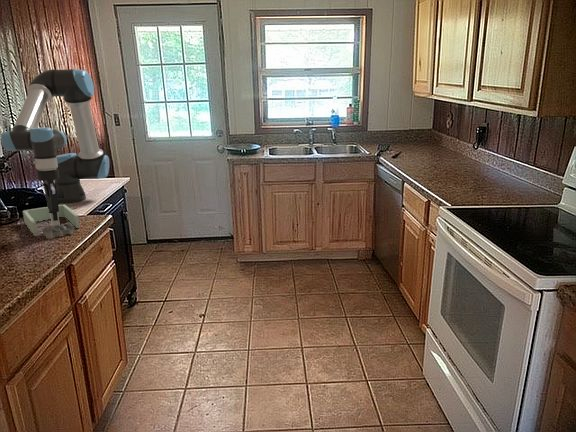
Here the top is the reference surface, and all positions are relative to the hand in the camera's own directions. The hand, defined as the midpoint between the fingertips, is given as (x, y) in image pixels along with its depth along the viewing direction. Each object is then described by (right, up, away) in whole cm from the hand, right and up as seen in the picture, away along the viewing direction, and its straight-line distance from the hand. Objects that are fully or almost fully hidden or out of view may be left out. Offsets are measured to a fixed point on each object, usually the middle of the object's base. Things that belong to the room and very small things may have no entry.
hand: (56, 227), depth 177 cm
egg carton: (+3, -3, -3) cm, 5 cm away
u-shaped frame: (-6, +1, +8) cm, 10 cm away
